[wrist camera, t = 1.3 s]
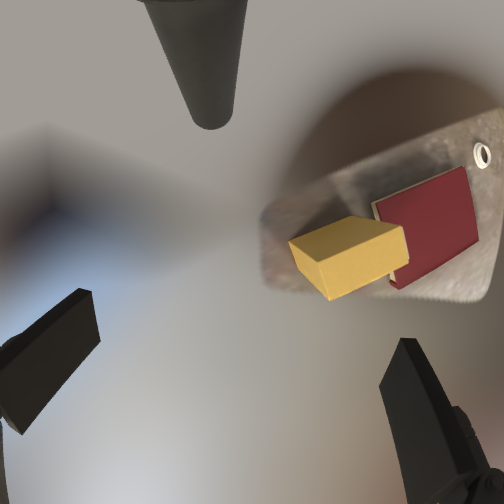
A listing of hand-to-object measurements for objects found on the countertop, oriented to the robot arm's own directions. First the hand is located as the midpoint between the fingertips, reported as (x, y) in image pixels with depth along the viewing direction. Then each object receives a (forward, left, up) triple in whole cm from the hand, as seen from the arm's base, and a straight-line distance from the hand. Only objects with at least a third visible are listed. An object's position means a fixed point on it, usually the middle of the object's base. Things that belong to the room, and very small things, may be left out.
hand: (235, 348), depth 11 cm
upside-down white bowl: (+21, +34, -23) cm, 46 cm away
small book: (+8, +7, -22) cm, 25 cm away
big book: (+18, +18, -22) cm, 34 cm away
